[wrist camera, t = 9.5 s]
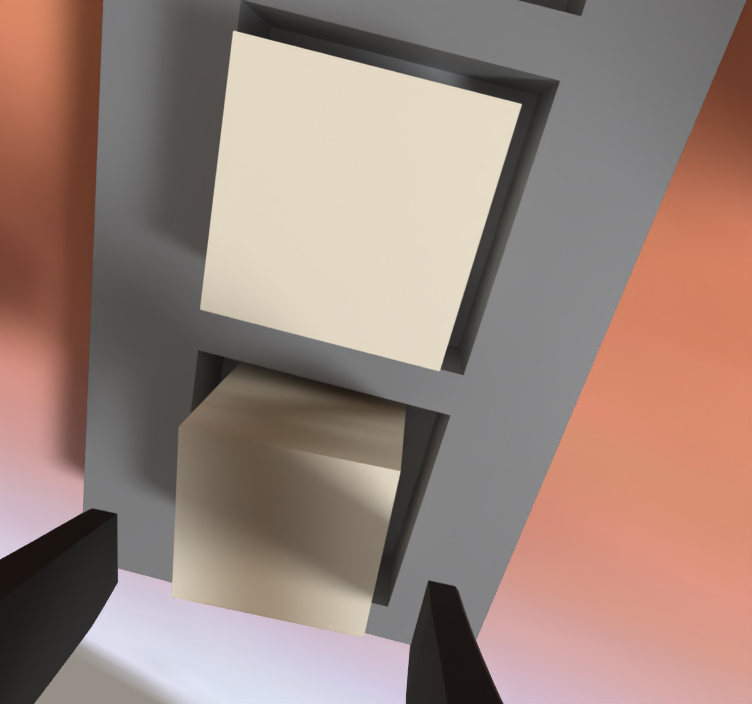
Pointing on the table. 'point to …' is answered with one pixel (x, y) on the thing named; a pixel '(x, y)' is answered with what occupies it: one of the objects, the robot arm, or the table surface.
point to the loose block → (286, 498)
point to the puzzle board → (512, 287)
